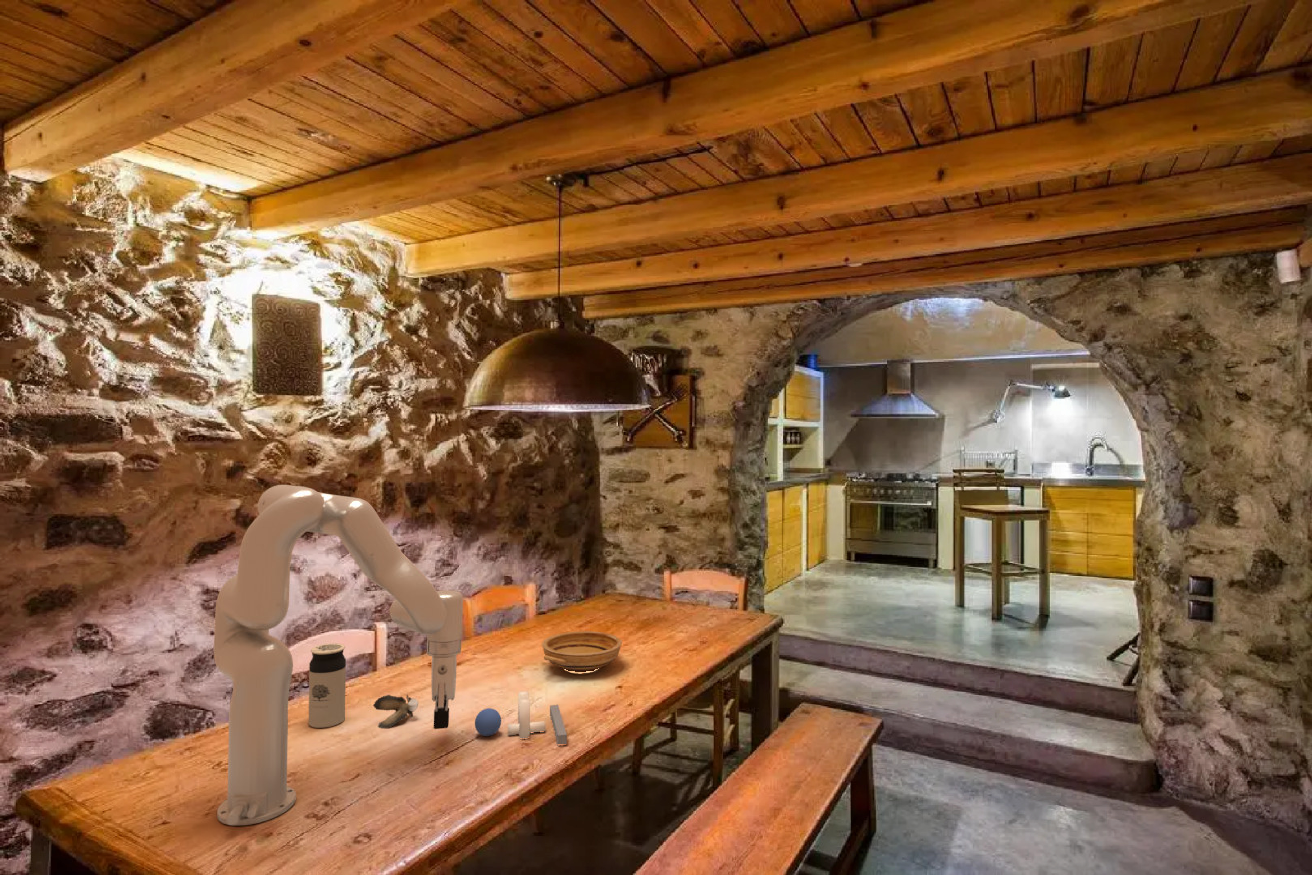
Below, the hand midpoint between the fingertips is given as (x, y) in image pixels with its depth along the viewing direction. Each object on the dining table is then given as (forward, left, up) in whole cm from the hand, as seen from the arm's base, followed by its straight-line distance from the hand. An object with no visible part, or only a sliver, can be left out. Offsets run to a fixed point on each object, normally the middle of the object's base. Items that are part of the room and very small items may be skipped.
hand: (441, 726), depth 155 cm
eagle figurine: (+15, +11, -4) cm, 19 cm away
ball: (+1, -10, 0) cm, 10 cm away
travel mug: (+17, +27, -4) cm, 33 cm away
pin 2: (-2, -19, -3) cm, 19 cm away
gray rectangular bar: (0, -27, -3) cm, 27 cm away
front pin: (0, -15, -2) cm, 15 cm away
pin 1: (+3, -19, -3) cm, 19 cm away
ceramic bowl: (+43, -39, -4) cm, 58 cm away
